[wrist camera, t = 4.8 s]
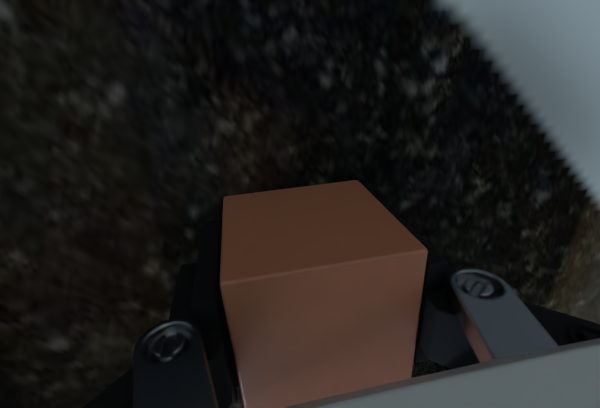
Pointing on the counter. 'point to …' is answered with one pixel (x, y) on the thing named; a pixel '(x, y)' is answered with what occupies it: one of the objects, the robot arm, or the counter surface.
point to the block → (318, 292)
